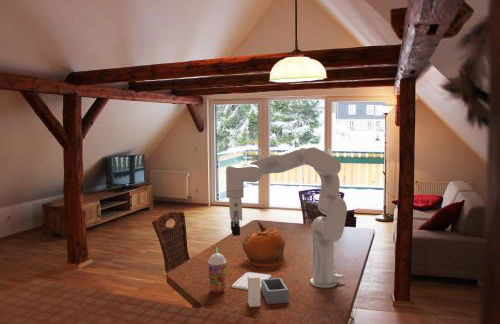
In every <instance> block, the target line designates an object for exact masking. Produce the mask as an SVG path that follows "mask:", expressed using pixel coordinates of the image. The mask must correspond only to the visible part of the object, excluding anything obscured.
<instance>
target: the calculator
mask: <svg viewBox="0 0 500 324" xmlns="http://www.w3.org/2000/svg"><path fill="white" fill-rule="evenodd" d="M248 274H259V276H260V290H262V283H261V279H272V275H271V274H269V273H268V274H267V273H259V272H253V271H252V272H251V271H247V272H245V273H244V274H243V275H242V276H240V277H239V278H238V279H237V280H236V281H235V282H234V283H233V284H232V285H231V289H237V290H238V289H239V290H245V291H248Z"/></svg>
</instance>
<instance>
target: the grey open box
mask: <svg viewBox="0 0 500 324" xmlns="http://www.w3.org/2000/svg"><path fill="white" fill-rule="evenodd" d="M261 283H262V288H261V293H262V295H263V298H264V300H265V302H266V304H267V305H274V304H287V303H289V302H290V299H289V294H290V293H289V289H288V287H287V285H286V284H285V282H284V280H283V279H282V277H275V278H274V277H273V278H270V279H261Z"/></svg>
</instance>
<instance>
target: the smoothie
mask: <svg viewBox="0 0 500 324" xmlns="http://www.w3.org/2000/svg"><path fill="white" fill-rule="evenodd" d="M215 249H216V250H215V253H213V254H212V255H210V257H209V259H208V261H207V265H208V276H209V277H208V278H209V288H210V291H211V292H212V293H214V294H221V293H224V291H225V289H226V279H227V277H226V276H227V259H226V257H225V256H224V255H223V254H222V253H219V251H218V250H219V247H215Z"/></svg>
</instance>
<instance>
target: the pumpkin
mask: <svg viewBox="0 0 500 324" xmlns="http://www.w3.org/2000/svg"><path fill="white" fill-rule="evenodd" d="M256 222H257V225H258V226H259V229H260V230H259V231H256V232H251V233H250V234H249V235H247V236H245V237H244V239H243V240H242V243H241V244H242V250H243V252H244V254H245V255H246V258H247V262H248V263H249V264H251V265H252V264H253V266H256V267H257V266H258V267H265V268H267V267H268V268H269V267H276V266H281V265H283V264H285V263H286V262H285V261H287V259H286V257H285V255H284V252H285V245H286V242H285V239H284V236H283V235H282V233H281V232H280V231H279V230H278V229H277V228H276V227H274V226H272V227H271V228H269V229H267V228H266V227H265V226H264V225H263V224H262V223H261V222H260V221H258V220H257V221H256Z"/></svg>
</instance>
